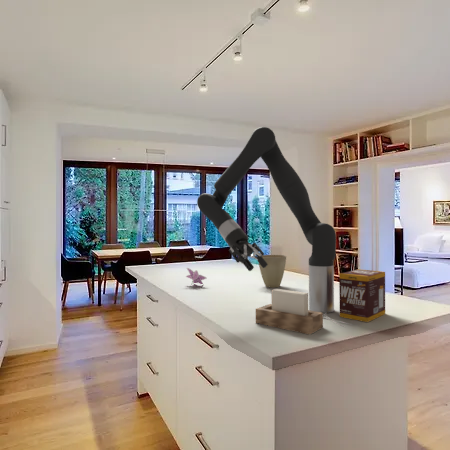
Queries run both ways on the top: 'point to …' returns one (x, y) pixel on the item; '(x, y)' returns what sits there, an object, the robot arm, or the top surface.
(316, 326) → the walnut box
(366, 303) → the supplement box
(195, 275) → the lily
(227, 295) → the top surface
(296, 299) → the white rectangular block
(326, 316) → the scissors
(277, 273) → the plant pot
